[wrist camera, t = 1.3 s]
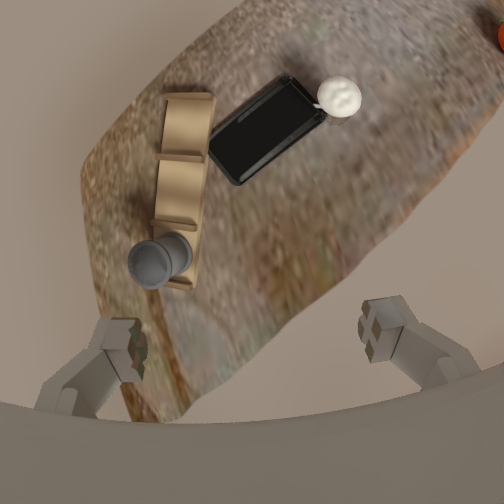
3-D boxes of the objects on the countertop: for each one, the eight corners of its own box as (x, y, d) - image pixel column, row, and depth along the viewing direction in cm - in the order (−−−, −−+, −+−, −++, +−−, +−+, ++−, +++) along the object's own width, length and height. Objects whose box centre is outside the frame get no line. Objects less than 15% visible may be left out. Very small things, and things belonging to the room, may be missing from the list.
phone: (329, 116, 36) (236, 189, 40) (328, 118, 37) (238, 189, 41) (288, 71, 36) (199, 143, 40) (289, 74, 37) (202, 144, 41)
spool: (155, 229, 43) (128, 237, 36) (194, 235, 42) (171, 245, 35) (153, 270, 44) (127, 284, 37) (191, 278, 43) (169, 294, 36)
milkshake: (305, 110, 37) (301, 87, 28) (340, 91, 36) (346, 63, 26) (324, 140, 38) (327, 125, 28) (359, 120, 36) (373, 99, 27)
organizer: (173, 97, 40) (165, 93, 38) (216, 97, 39) (210, 92, 36) (156, 277, 46) (147, 282, 43) (196, 285, 45) (189, 291, 42)
